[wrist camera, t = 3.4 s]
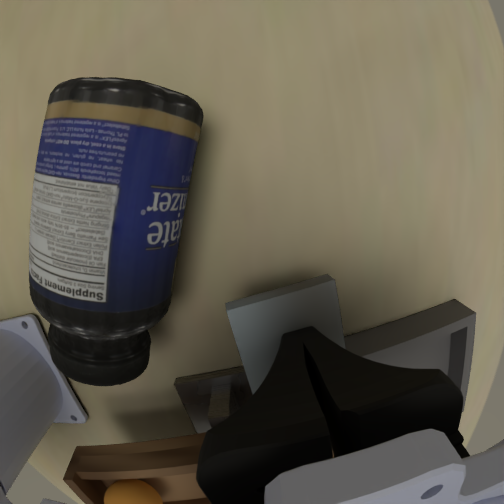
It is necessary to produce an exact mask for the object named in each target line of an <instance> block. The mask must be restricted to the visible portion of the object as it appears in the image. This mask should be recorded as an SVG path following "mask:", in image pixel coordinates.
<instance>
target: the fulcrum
mask: <svg viewBox="0 0 504 504" xmlns="http://www.w3.org/2000/svg"><path fill="white" fill-rule="evenodd" d="M174 385H175V387H176V390H177V392H178V394H179V396H180V398H181V400H182V402H183V405H184V407H185V409H186V411H187V413H188V415H189V417H190V419H191V421H192V423H193V425H194V427H195V429H196V431H197V433H204V432H207V431H208V430H209V429H211V428H213V427H214V426H216V425H217V424H219V423H221V422H222V421H224V420H225V419H227V418H228V417H229V416H231V415H232V414H233V413H234V412H236V411H237V410H238V409H239V408H240V407H241V406H243V405H244V404H245V403H246V402H247V401H248V400H249V399H250V397H251V396H252V395H253V394H252V390H251V387H250V384H249V381H248V378H247V375H246V372H245V369H244V366H242V367H237V368H232V369H227V370H222V371H216V372H211V373H205V374H199V375H193V376H187V377H181V378H176V380H175V383H174Z"/></svg>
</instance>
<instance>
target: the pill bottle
mask: <svg viewBox="0 0 504 504" xmlns="http://www.w3.org/2000/svg"><path fill="white" fill-rule="evenodd" d="M202 121H203V111H202V109H201V108H200V106H199V104H198V103H197V102H196V101H195V100H194V99H192V98H190V97H189V96H187V95H184V94H182V93H179V92H176V91H173V90H170V89H167V88H164V87H161V86H158V85H154V84H151V83H148V82H145V81H141V80H131V79H123V78H99V77H90V78H77V79H71V80H68V81H65V82H62V83H60V84H59V85H57V86H56V87H55V88H54V90H53V91H52V92H51V94H50V96H49V100H48V107H47V111H46V115H45V120H44V124H43V129H42V134H41V139H40V144H39V150H38V156H37V162H36V169H35V177H34V185H33V195H32V206H31V219H30V242H29V283H30V295H31V298H32V301H33V304H34V305H35V307H36V309H37V310H38V312H39V313H40V314H41V316H42V317H43V318H45V319H46V320H47V321H48V322H49V323H51V324H50V327H49V333H48V341H49V347H50V355H51V359H52V361H53V363H54V365H55V366H56V367H57V369H59V371H61V372H62V373H63V374H64V375H66V376H67V377H69V378H71V379H73V380H75V381H78V382H81V383H83V384H88V385H94V386H113V385H118V384H119V385H121V384H124V383H126V382H129V381H131V380H134V379H135V378H137V377H138V376H140V375H141V374H142V373H143V372H144V370H145V369H146V368H147V365H148V362H149V356H150V345H151V338H150V335H149V332H148V329H150V328H152V327H153V326H154V325H155V324H157V323H158V322H159V321H160V320H161V319H162V318H163V317H164V315H165V314H166V313H167V311H168V308H169V305H170V303H171V296H172V287H173V279H174V272H175V266H176V260H177V253H178V246H179V240H180V234H181V227H182V222H183V216H184V211H185V205H186V200H187V194H188V189H189V183H190V178H191V173H192V168H193V163H194V158H195V153H196V149H197V144H198V140H199V136H200V132H201V125H202Z"/></svg>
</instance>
